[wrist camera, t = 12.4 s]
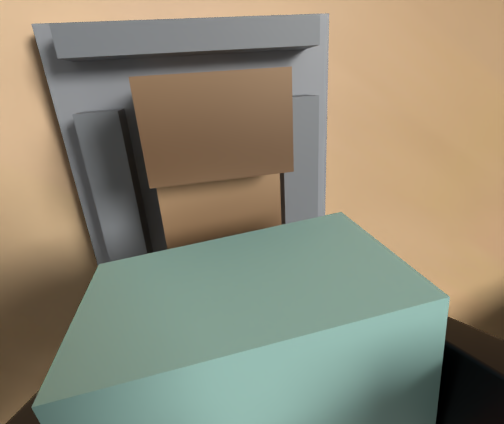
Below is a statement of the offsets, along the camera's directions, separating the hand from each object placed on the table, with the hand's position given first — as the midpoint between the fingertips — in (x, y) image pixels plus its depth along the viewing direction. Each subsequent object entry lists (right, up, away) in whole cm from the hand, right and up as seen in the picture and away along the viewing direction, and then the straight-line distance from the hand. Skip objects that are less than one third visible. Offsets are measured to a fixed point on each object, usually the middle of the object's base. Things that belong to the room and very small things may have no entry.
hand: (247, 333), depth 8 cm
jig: (-2, +3, +8) cm, 9 cm away
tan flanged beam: (-2, +3, +7) cm, 8 cm away
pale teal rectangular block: (0, +1, +1) cm, 2 cm away
